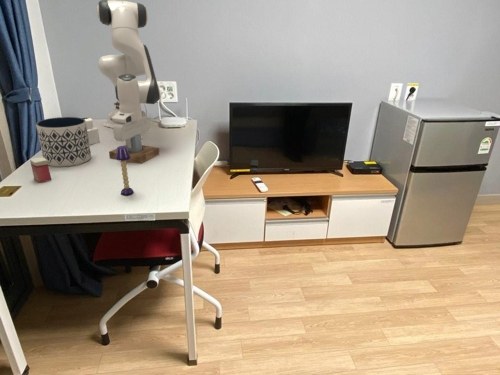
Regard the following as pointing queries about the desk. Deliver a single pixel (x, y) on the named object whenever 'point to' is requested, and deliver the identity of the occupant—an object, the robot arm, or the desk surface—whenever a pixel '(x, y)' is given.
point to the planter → (64, 141)
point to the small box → (40, 169)
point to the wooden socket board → (139, 154)
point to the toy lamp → (124, 168)
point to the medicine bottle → (92, 131)
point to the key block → (136, 144)
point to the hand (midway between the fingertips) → (134, 145)
